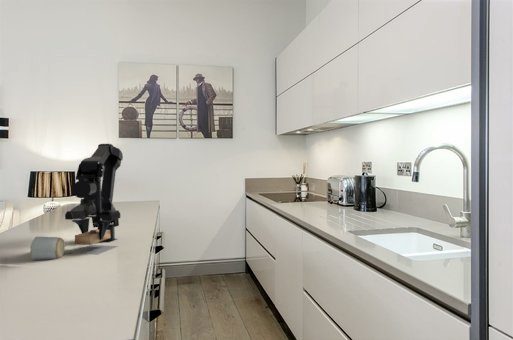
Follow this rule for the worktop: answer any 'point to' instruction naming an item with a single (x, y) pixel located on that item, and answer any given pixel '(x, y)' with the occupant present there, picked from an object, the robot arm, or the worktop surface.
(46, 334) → the worktop surface
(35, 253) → the ceramic mug
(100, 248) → the mat
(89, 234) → the lid
